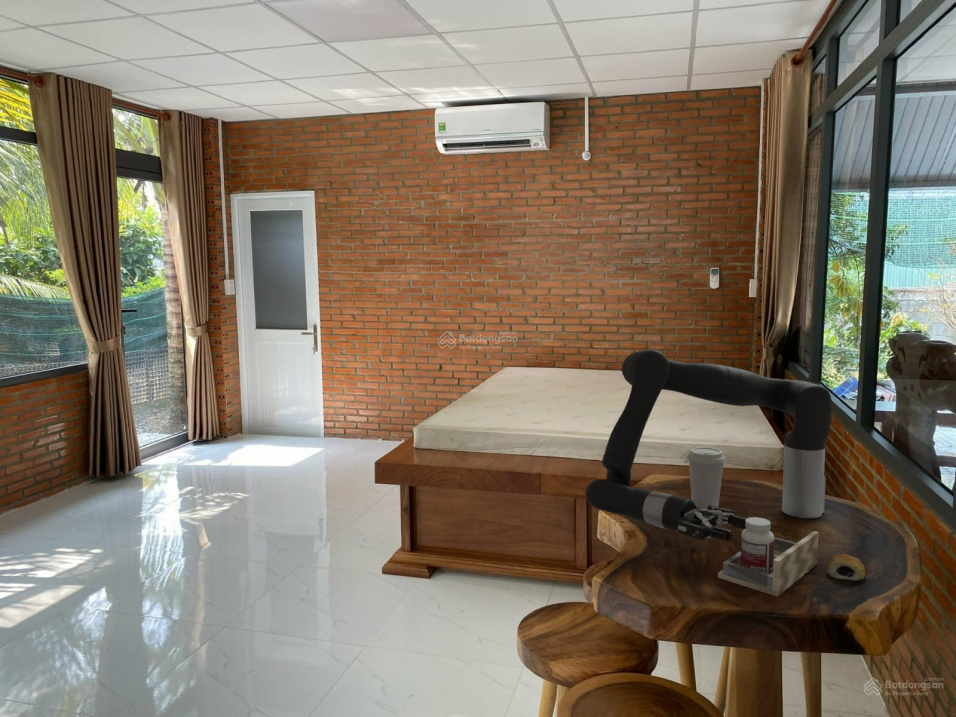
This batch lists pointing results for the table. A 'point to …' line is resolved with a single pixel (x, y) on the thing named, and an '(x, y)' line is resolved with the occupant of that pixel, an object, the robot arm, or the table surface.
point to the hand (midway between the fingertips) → (740, 530)
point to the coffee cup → (705, 475)
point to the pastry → (846, 567)
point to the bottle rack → (776, 566)
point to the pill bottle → (757, 545)
